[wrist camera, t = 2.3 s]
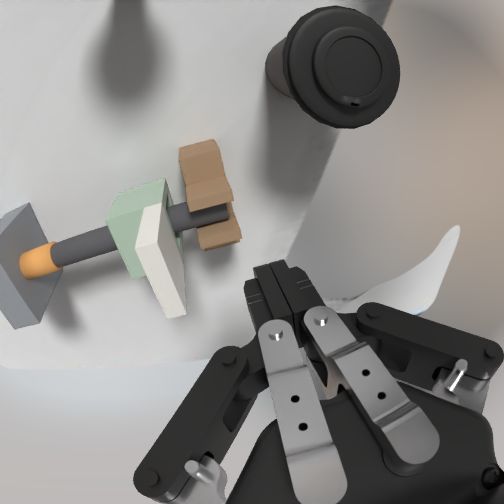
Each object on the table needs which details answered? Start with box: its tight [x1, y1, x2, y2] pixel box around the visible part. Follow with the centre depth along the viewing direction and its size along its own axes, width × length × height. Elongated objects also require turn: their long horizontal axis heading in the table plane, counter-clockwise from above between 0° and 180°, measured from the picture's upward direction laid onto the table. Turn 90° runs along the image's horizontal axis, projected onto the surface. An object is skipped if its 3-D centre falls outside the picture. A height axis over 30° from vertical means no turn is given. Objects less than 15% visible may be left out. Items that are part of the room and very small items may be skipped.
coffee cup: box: [265, 6, 400, 129], centre depth 18 cm, size 8×8×10 cm
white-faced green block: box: [106, 178, 187, 319], centre depth 20 cm, size 4×5×10 cm
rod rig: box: [0, 139, 242, 329], centre depth 22 cm, size 23×8×8 cm, turn 100°
